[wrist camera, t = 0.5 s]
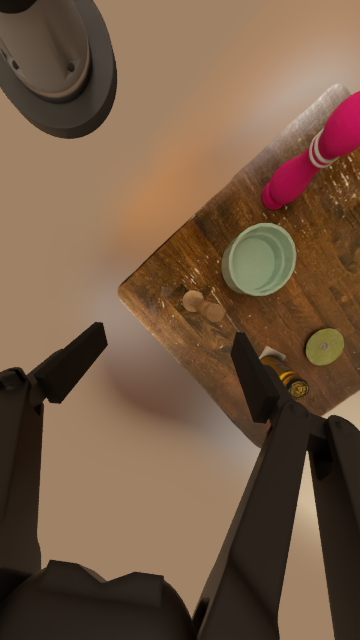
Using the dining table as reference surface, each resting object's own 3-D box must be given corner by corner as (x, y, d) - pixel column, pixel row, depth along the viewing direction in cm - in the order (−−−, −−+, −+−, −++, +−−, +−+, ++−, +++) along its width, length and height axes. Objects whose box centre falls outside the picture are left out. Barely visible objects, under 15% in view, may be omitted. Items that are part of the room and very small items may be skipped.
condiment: (251, 369, 46) (278, 397, 34) (266, 345, 44) (299, 365, 33) (270, 378, 47) (303, 408, 35) (285, 355, 45) (325, 378, 33)
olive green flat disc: (328, 364, 47) (335, 368, 45) (295, 359, 46) (300, 362, 44) (342, 330, 45) (350, 332, 43) (308, 323, 44) (314, 325, 42)
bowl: (221, 233, 38) (230, 222, 32) (281, 233, 38) (300, 223, 32) (219, 295, 41) (227, 296, 35) (274, 294, 41) (291, 295, 36)
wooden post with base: (182, 290, 40) (193, 291, 18) (203, 290, 40) (238, 290, 19) (182, 311, 41) (193, 335, 20) (202, 310, 41) (236, 333, 20)
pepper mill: (285, 173, 36) (421, 33, 16) (291, 206, 37) (423, 113, 18) (256, 185, 36) (356, 60, 16) (263, 217, 37) (363, 137, 18)
